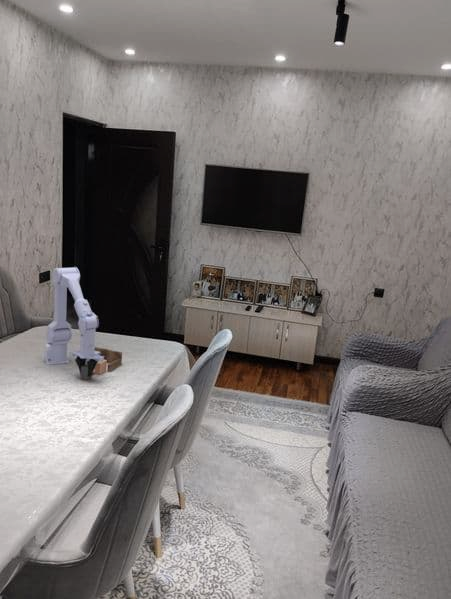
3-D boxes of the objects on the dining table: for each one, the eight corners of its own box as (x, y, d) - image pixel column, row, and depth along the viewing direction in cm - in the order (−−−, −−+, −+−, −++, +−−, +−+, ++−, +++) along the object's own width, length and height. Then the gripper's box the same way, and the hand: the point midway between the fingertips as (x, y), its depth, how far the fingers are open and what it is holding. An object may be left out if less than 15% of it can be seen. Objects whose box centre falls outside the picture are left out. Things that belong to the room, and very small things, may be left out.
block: (84, 363, 209) (85, 353, 208) (90, 360, 214) (91, 349, 213) (94, 365, 208) (94, 355, 207) (100, 362, 212) (101, 352, 211)
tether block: (78, 378, 192) (79, 365, 191) (95, 368, 204) (96, 356, 203) (89, 380, 190) (89, 368, 189) (105, 370, 203) (106, 359, 202)
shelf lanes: (77, 364, 207) (77, 351, 205) (89, 357, 216) (90, 345, 215) (109, 371, 202) (110, 358, 201) (121, 364, 212) (122, 352, 211)
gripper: (66, 343, 187) (65, 374, 190) (97, 349, 184) (96, 381, 187) (76, 338, 194) (75, 369, 197) (107, 345, 190) (105, 375, 193)
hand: (86, 374), depth 192 cm, fingers closed on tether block, 3 cm apart
